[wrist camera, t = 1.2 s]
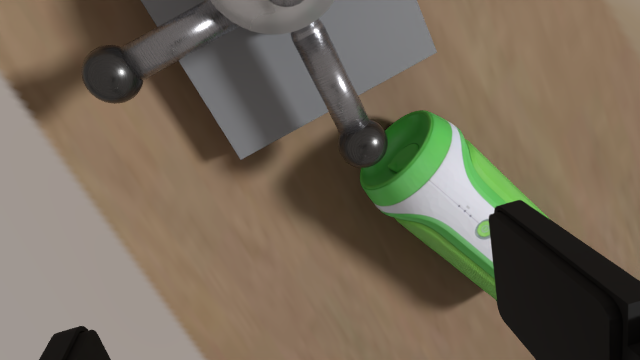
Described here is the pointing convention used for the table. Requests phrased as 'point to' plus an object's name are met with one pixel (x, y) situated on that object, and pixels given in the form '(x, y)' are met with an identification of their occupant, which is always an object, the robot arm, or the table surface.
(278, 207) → the table surface
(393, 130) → the speaker
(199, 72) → the stand
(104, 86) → the capstan
